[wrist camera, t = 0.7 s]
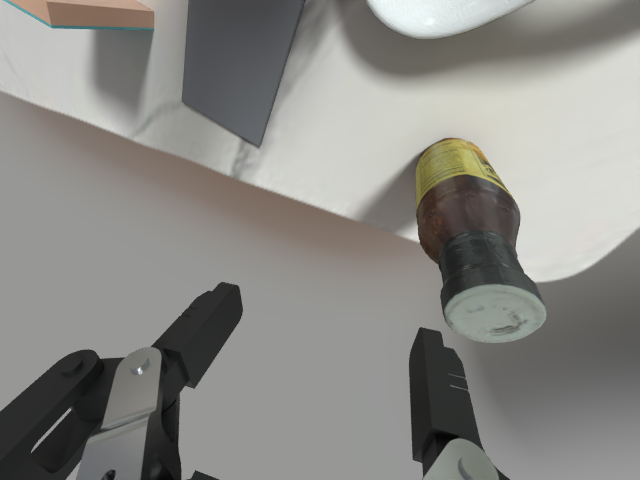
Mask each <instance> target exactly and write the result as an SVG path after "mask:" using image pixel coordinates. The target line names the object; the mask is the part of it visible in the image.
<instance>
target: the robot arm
mask: <svg viewBox="0 0 640 480" xmlns="http://www.w3.org/2000/svg"><path fill="white" fill-rule="evenodd" d="M242 312H243V307H242V301H241V295H240V289H239V286H238V285H234V284H229V283H225V282H221V283H220V284H218V285H217V287H216V288H215V289H214V290H213V291H207V292H205V293H204V294H202V295H201V296H199V297H197V298H196V299H195V300H194V301H193V302H192V303H191V305H190V306H189V308H187V309H186V310H185V311H184V312H183V313H182V315H181V316H179V317H178V319H177V320H176V321H175V322H174V323H173V324H172V325H171V326H170V327H169V328H168V329H167V330H166V331H165V332H164V333H163V335H161V337H160V338H159V339H158V340H157V341H156V342H155V343H154V344H153V345H152V346H151V347H145V348H141V349H138V350H136V351H134V352H132V353H131V354H129V355H128V356H127V357H124V358H107V359H100V358H99V356H98V355H97V353H96V352H95V351H93V350H80V351H77V352H74V353H71V354H69V355H67V356H65V357H64V358H62V359H61V360H59V361H58V362H57V363H56V364H54V365H53V366H52V367H51V368H50V369H49V370H47V371H46V372H45V373H44V374H43V375H42V376H41V377H39V378H38V379H37V380H36V381H35V382H34V383H33V384H31V385H30V386H29V387H28V388H27V389H26V390H25V391H23V392H22V393H21V394H20V395H19V396H18V397H16V398H15V399H14V400H13V401H12V402H11V403H10V404H9V405H8V406H6V407H5V408H4V409H3V410H2V411H0V480H66V478H67V477H68V476H69V475H70V473H71V472H72V471H73V469H74V468H75V467H76V465H77V464H78V463H79V462H80V460H81V463H80V467H79V470H78V473H77V477H76V480H181V461H180V455H179V448H178V440H179V439H178V438H179V412H180V394H179V393H180V392H181V390H182V389H183V388H184V386H188V387H191V388H195V387H196V386H197V384H198V383H199V381H200V380H201V378H202V377H203V375H204V374H205V372H206V371H207V369H208V368H209V366H210V365H211V363H212V362H213V360H214V359H215V357H216V356H217V354H218V353H219V351H220V350H221V348H222V347H223V345H224V344H225V342H226V341H227V339H228V338H229V336H230V335H231V333H232V332H233V330H234V329H235V327H236V325H237V324H238V322H239V321H240V319H241V316H242ZM409 359H410V360H409V377H410V401H411V426H412V454H413V460H415V461H418V462H421V463H422V465H423V478H422V480H510V479H509V478H507V477H506V476H505V475H503V474H502V473H501V472H500V471H499V470H498V469H497V468H496V467H495V466H494V465H493V463H492V462H491V460H490V458H489V457H488V456H487V455H486V453H485V451H484V449H483V447H482V444H481V441H480V438H479V434H478V429H477V425H476V421H475V416H474V412H473V407H472V403H471V399H470V394H469V392H468V386H467V381H466V380H465V373H464V368H463V364H462V362H461V360H460V358H459V357H458V355H457V354H456V353H455V351H454V349H451V348H447V347H444V345H443V339H442V334H441V332H439V331H435V330H431V329H426V328H422V327H421V328H419V330H418V333H417V336H416V338H415V341H414V343H413V346H412V349H411V352H410V358H409ZM69 408H71V409H72V410H71V411H70V412H69V414H68V415H67V416H66V417H65V418H64V419H63V420H62V421H61V422H60V423H59V424H58V425H57V426H56V428H54V430H53V431H52V432H51V433H50V434H49V435H48V436H47V437H46V438H45V439H44V440H43V441H42V442H41V443H40V444H39V446H38V447H37V448H36V449H35V450H34V451H33V452H32V453H31V450H32V449H33V447H34V445H35V444H36V443H37V442H38V440H39V439H40V438H41V437H42V436H43V435H44V434H45V433H46V432H47V431H48V430H49V429H50V428H51V427H52V426H53V425H54V424H55V422H56V421H57V420H58V419H59V418H60V417H61V416H62V415H63V414H64V413H65V412H66V411H67V410H68V409H69ZM188 480H219V479H216V478H213V477H211V476H208V475H206V474H203V473H201V472H198V471H196V470H195V472H194V474H193V476H192V478H191V479H188Z"/></svg>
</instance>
